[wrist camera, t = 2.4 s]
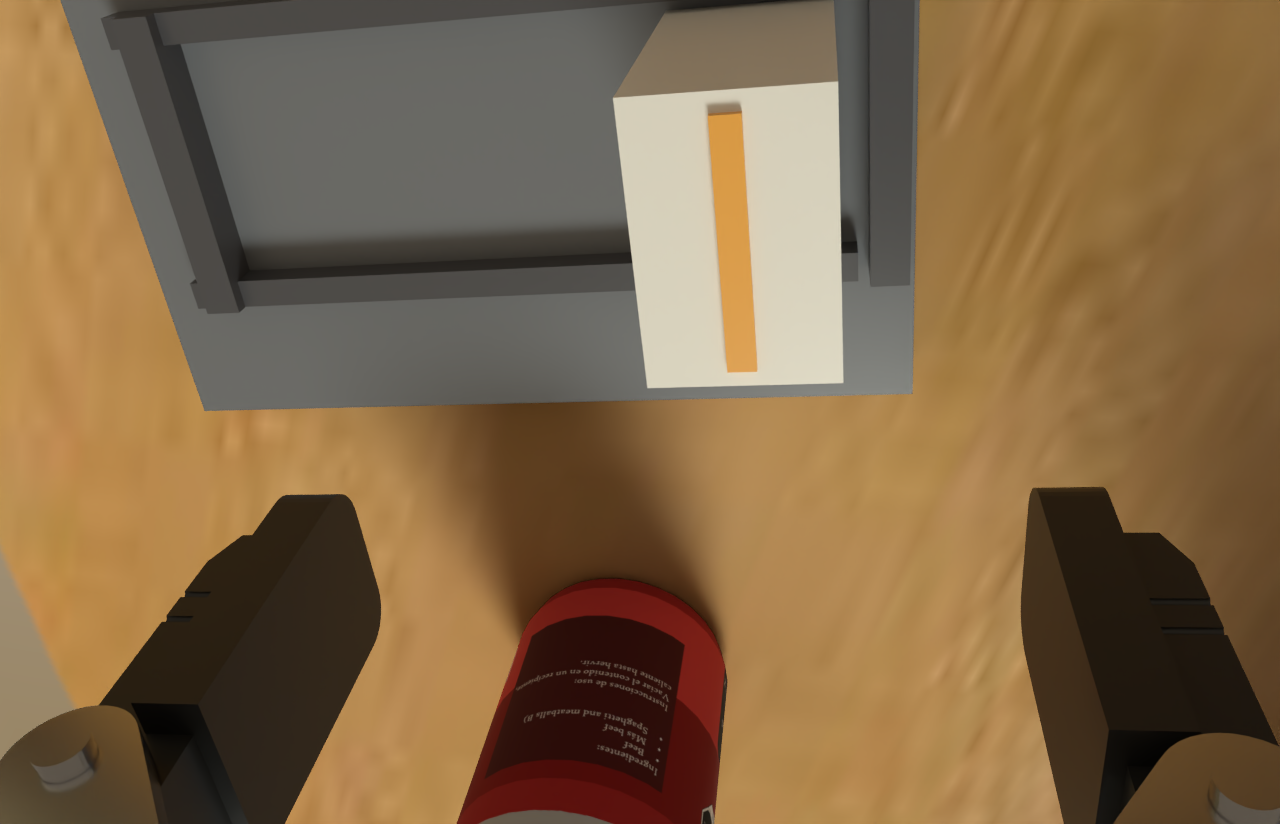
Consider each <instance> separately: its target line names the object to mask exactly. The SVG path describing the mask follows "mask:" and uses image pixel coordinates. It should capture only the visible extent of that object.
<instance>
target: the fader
mask: <svg viewBox="0 0 1280 824" xmlns="http://www.w3.org/2000/svg"><path fill="white" fill-rule="evenodd" d="M613 103H614V111H615V120H616V128H617V137H618V145H619V154H620V162H621V170H622V179H623V187H624V196H625V204H626V212H627V221H628V229H629V238H630V246H631V255H632V263H633V271H634V280H635V288H636V297H637V305H638V314H639V322H640V330H641V339H642V347H643V356H644V364H645V372H646V381H647V388H676V387H714V386H752V385H791V384H829V383H843V328H842V271H841V214H840V156H839V99H838V69H837V51H836V32H835V14H834V0H786V1H774V2H763V3H751V4H740V5H728V6H717V7H705V8H693V9H682V10H670V11H666V12H665V13H664V15H663V16H662V18H661V20H660V21H659V23H658V25H657V26H656V28H655V30H654V31H653V33H652V35H651V36H650V38H649V39H648V41H647V43H646V44H645V46H644V48H643V49H642V51H641V53H640V54H639V56H638V58H637V59H636V61H635V62H634V64H633V66H632V67H631V69H630V71H629V72H628V74H627V76H626V77H625V79H624V81H623V82H622V84H621V85H620V87H619V89H618V90H617V92H616V94H615V95H614V97H613Z"/></svg>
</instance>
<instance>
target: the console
mask: <svg viewBox="0 0 1280 824" xmlns="http://www.w3.org/2000/svg"><path fill="white" fill-rule="evenodd" d="M774 1H786V0H61V3H62V6H63V9H64V12H65V14H66V17H67V20H68V23H69V26H70V29H71V31H72V34H73V37H74V40H75V43H76V46H77V49H78V51H79V54H80V57H81V60H82V63H83V66H84V68H85V71H86V74H87V77H88V80H89V83H90V86H91V88H92V91H93V94H94V97H95V100H96V103H97V106H98V108H99V111H100V114H101V117H102V120H103V123H104V125H105V128H106V131H107V134H108V137H109V140H110V143H111V145H112V148H113V151H114V154H115V157H116V160H117V162H118V165H119V168H120V171H121V174H122V177H123V180H124V182H125V185H126V188H127V191H128V194H129V197H130V199H131V202H132V205H133V208H134V211H135V214H136V217H137V219H138V222H139V225H140V228H141V231H142V234H143V236H144V239H145V242H146V245H147V248H148V251H149V254H150V256H151V259H152V262H153V265H154V268H155V271H156V273H157V276H158V279H159V282H160V285H161V288H162V291H163V293H164V296H165V299H166V302H167V305H168V308H169V310H170V313H171V316H172V319H173V322H174V325H175V328H176V330H177V333H178V336H179V339H180V342H181V345H182V347H183V350H184V353H185V356H186V359H187V362H188V365H189V367H190V370H191V373H192V376H193V379H194V382H195V384H196V387H197V390H198V393H199V396H200V399H201V402H202V404H203V407H204V410H205V411H219V410H261V409H302V408H344V407H385V406H427V405H468V404H510V403H551V402H593V401H634V400H676V399H717V398H759V397H800V396H842V395H883V394H912V388H913V333H914V278H915V223H916V167H917V112H918V57H919V2H920V0H834V14H835V32H836V51H837V69H838V99H839V156H840V214H841V271H842V328H843V383H829V384H791V385H752V386H714V387H676V388H647V381H646V372H645V364H644V356H643V347H642V339H641V330H640V322H639V314H638V305H637V297H636V288H635V280H634V271H633V263H632V255H631V246H630V238H629V229H628V221H627V212H626V204H625V196H624V187H623V179H622V170H621V162H620V154H619V145H618V137H617V128H616V120H615V111H614V103H613V97H614V95H615V94H616V92H617V90H618V89H619V87H620V85H621V84H622V82H623V81H624V79H625V77H626V76H627V74H628V72H629V71H630V69H631V67H632V66H633V64H634V62H635V61H636V59H637V58H638V56H639V54H640V53H641V51H642V49H643V48H644V46H645V44H646V43H647V41H648V39H649V38H650V36H651V35H652V33H653V31H654V30H655V28H656V26H657V25H658V23H659V21H660V20H661V18H662V16H663V15H664V13H665V12H666V11H670V10H682V9H693V8H705V7H717V6H728V5H740V4H751V3H763V2H774Z"/></svg>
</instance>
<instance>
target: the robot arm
mask: <svg viewBox="0 0 1280 824" xmlns="http://www.w3.org/2000/svg"><path fill="white" fill-rule="evenodd" d="M380 619H381V601H380V594H379V590H378V586H377V583H376V579H375V576H374V572H373V569H372V565H371V562H370V559H369V555H368V552H367V548H366V545H365V541H364V538H363V534H362V531H361V528H360V524H359V521H358V517H357V514H356V511H355V508H354V505H353V503H352V502H351V500H350V499H349V498H348V497H347V496H346V495H343V494H331V495H285V496H282V497H281V498H280V499H279V500H278V501H277V502H276V503H275V505H274V506H273V507H272V509H271V510H270V511H269V513H268V514H267V516H266V517H265V518H264V520H263V521H262V523H261V524H260V525H259V527H258V528H257V529H256V531H255V532H254V534H253V535H243V536H241V537H240V538H239V539H237V540H236V541H235V542H233V543H232V544H230V545H229V546H228V547H226V548H225V549H224V550H222V551H221V552H220V553H218V554H217V555H216V556H214V557H213V558H212V559H210V560H209V561H208V562H207V563H206V564H205V566H204V567H203V568H202V570H201V571H200V572H199V573H198V575H197V576H196V577H195V579H194V580H193V581H192V583H191V584H190V585H189V587H188V588H187V589H186V591H185V597H180V599H179V600H178V601H177V603H176V604H175V605H174V606H173V608H172V609H171V610H170V612H169V613H168V614H167V621H166V622H161V624H160V625H159V626H158V628H157V629H156V630H155V632H154V633H153V634H152V636H151V637H150V638H149V640H148V641H147V642H146V643H145V645H144V646H143V647H142V649H141V650H140V651H139V653H138V654H137V655H136V657H135V658H134V659H133V661H132V662H131V663H130V665H129V666H128V667H127V669H126V670H125V671H124V673H123V674H122V675H121V677H120V678H119V679H118V680H117V682H116V683H115V684H114V686H113V687H112V688H111V690H110V691H109V692H108V694H107V695H106V696H105V698H104V699H103V700H102V702H101V703H100V704H99V706H90V707H84V708H80V709H76V710H72V711H69V712H67V713H64V714H61V715H59V716H57V717H54V718H52V719H50V720H48V721H46V722H44V723H43V724H41V725H39V726H37V727H36V728H35V729H33V730H32V731H30V732H28V733H27V734H26V735H24V736H23V737H22V738H21V739H20V740H19V741H17V742H16V743H15V744H14V745H13V746H12V747H11V748H10V749H9V750H8V751H7V753H6V754H5V755H4V756H3V758H2V759H1V760H0V824H285V822H286V820H287V818H288V816H289V814H290V812H291V810H292V808H293V806H294V804H295V802H296V800H297V798H298V796H299V794H300V792H301V790H302V788H303V786H304V784H305V782H306V780H307V778H308V776H309V774H310V772H311V770H312V768H313V766H314V764H315V762H316V760H317V758H318V756H319V754H320V752H321V750H322V748H323V746H324V744H325V742H326V740H327V738H328V736H329V734H330V732H331V730H332V728H333V726H334V724H335V722H336V720H337V718H338V716H339V714H340V712H341V710H342V708H343V706H344V704H345V702H346V700H347V698H348V696H349V694H350V692H351V690H352V688H353V686H354V684H355V682H356V680H357V678H358V676H359V674H360V672H361V670H362V668H363V666H364V664H365V662H366V660H367V658H368V656H369V654H370V652H371V650H372V648H373V646H374V644H375V641H376V638H377V635H378V631H379V627H380ZM1021 625H1022V637H1023V645H1024V651H1025V656H1026V660H1027V665H1028V669H1029V673H1030V678H1031V682H1032V686H1033V691H1034V695H1035V699H1036V704H1037V708H1038V713H1039V717H1040V721H1041V726H1042V730H1043V734H1044V739H1045V743H1046V747H1047V752H1048V756H1049V760H1050V765H1051V769H1052V774H1053V778H1054V782H1055V787H1056V791H1057V795H1058V800H1059V804H1060V808H1061V813H1062V817H1063V821H1064V824H1280V747H1279V745H1278V743H1277V741H1276V739H1275V737H1274V735H1273V733H1272V730H1271V728H1270V726H1269V724H1268V722H1267V720H1266V717H1265V715H1264V713H1263V711H1262V709H1261V707H1260V705H1259V702H1258V700H1257V698H1256V696H1255V694H1254V692H1253V689H1252V687H1251V685H1250V683H1249V681H1248V679H1247V677H1246V674H1245V672H1244V670H1243V668H1242V666H1241V664H1240V661H1239V659H1238V657H1237V655H1236V653H1235V651H1234V649H1233V646H1232V644H1231V642H1230V640H1229V638H1228V636H1227V635H1224V627H1223V625H1222V623H1221V621H1220V618H1219V616H1218V614H1217V612H1216V610H1215V608H1214V605H1211V604H1210V597H1209V595H1208V592H1207V590H1206V588H1205V586H1204V584H1203V582H1202V580H1201V577H1200V575H1199V573H1198V571H1197V569H1196V567H1195V564H1194V563H1193V562H1192V561H1191V560H1190V559H1188V558H1187V557H1186V556H1185V555H1184V554H1183V553H1182V552H1180V551H1179V550H1178V549H1177V548H1176V547H1175V546H1174V545H1172V544H1171V543H1170V542H1169V541H1168V540H1167V539H1165V538H1164V537H1163V536H1162V535H1161V534H1160V533H1123V530H1122V527H1121V525H1120V522H1119V520H1118V517H1117V515H1116V512H1115V510H1114V507H1113V504H1112V502H1111V499H1110V497H1109V494H1108V492H1107V491H1106V489H1105V488H1104V487H1071V488H1033V489H1032V491H1031V494H1030V498H1029V506H1028V517H1027V530H1026V542H1025V555H1024V567H1023V579H1022V592H1021Z"/></svg>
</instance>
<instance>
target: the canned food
mask: <svg viewBox="0 0 1280 824" xmlns="http://www.w3.org/2000/svg"><path fill="white" fill-rule="evenodd" d="M726 691H727V676H726V669H725V664H724V661H723V657H722V654H721V651H720V648H719V646H718V643H717V641H716V638H715V636H714V634H713V633H712V631H711V630H710V628H709V627H708V625H707V624H706V622H705V621H704V620H703V619H702V618H701V617H700V616H699V615H698V614H697V613H696V612H695V611H694V610H693V609H692V608H691V607H690V606H688V605H687V604H686V603H684V602H683V601H681V600H680V599H679V598H677V597H676V596H674V595H672V594H670V593H668V592H666V591H664V590H662V589H660V588H657V587H654V586H651V585H648V584H645V583H641V582H638V581H631V580H625V579H595V580H590V581H584V582H580V583H577V584H575V585H572V586H570V587H567V588H565V589H563V590H562V591H560V592H558V593H557V594H555V595H554V596H552V597H551V598H550V599H549V600H548V601H547V602H546V603H545V604H544V605H543V606H542V607H541V608H540V610H539V611H538V612H537V613H536V614H535V615H534V616H533V617H532V618H531V619H530V621H529V623H528V625H527V627H526V628H525V630H524V632H523V634H522V637H521V640H520V643H519V645H518V648H517V651H516V654H515V657H514V660H513V663H512V666H511V669H510V671H509V674H508V677H507V680H506V683H505V686H504V689H503V692H502V695H501V697H500V700H499V703H498V706H497V709H496V712H495V715H494V718H493V720H492V723H491V726H490V729H489V732H488V735H487V738H486V741H485V744H484V746H483V749H482V752H481V755H480V758H479V761H478V764H477V767H476V770H475V772H474V775H473V778H472V781H471V784H470V787H469V790H468V793H467V795H466V798H465V801H464V804H463V807H462V810H461V813H460V816H459V819H458V821H457V824H714V818H715V807H716V797H717V786H718V776H719V765H720V754H721V744H722V733H723V723H724V712H725V701H726Z"/></svg>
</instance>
